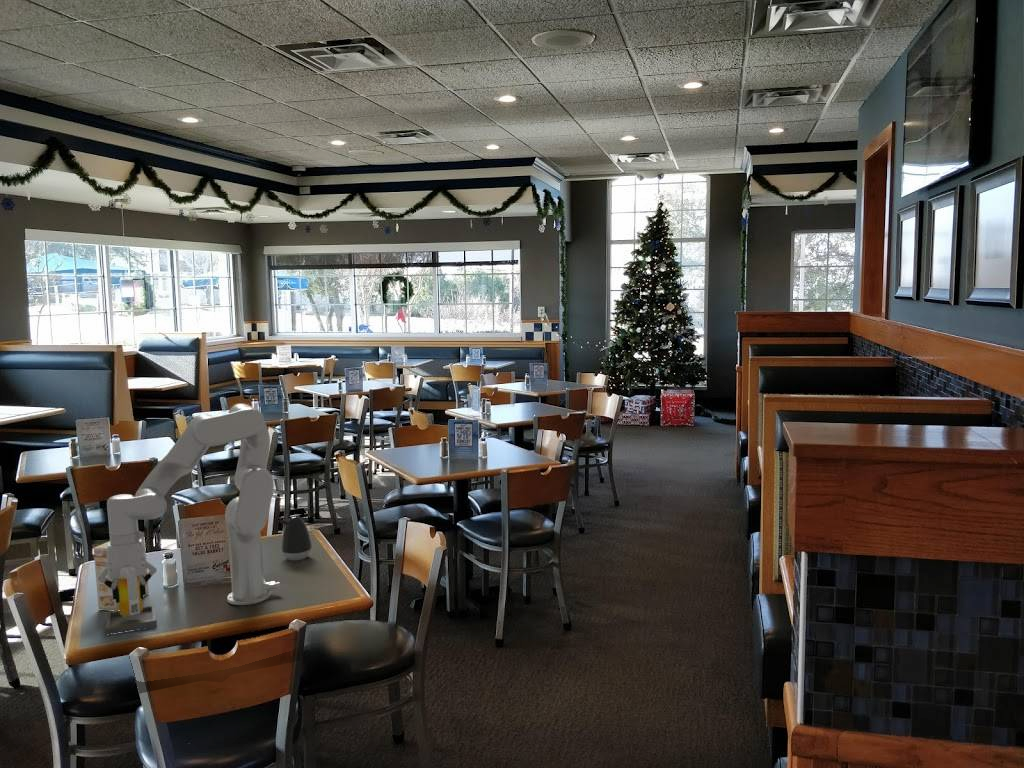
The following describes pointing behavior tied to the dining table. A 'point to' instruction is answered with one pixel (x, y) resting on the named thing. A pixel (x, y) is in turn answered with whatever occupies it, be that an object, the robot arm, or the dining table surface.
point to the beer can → (129, 592)
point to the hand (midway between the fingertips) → (129, 598)
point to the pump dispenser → (295, 539)
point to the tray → (131, 620)
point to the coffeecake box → (103, 590)
